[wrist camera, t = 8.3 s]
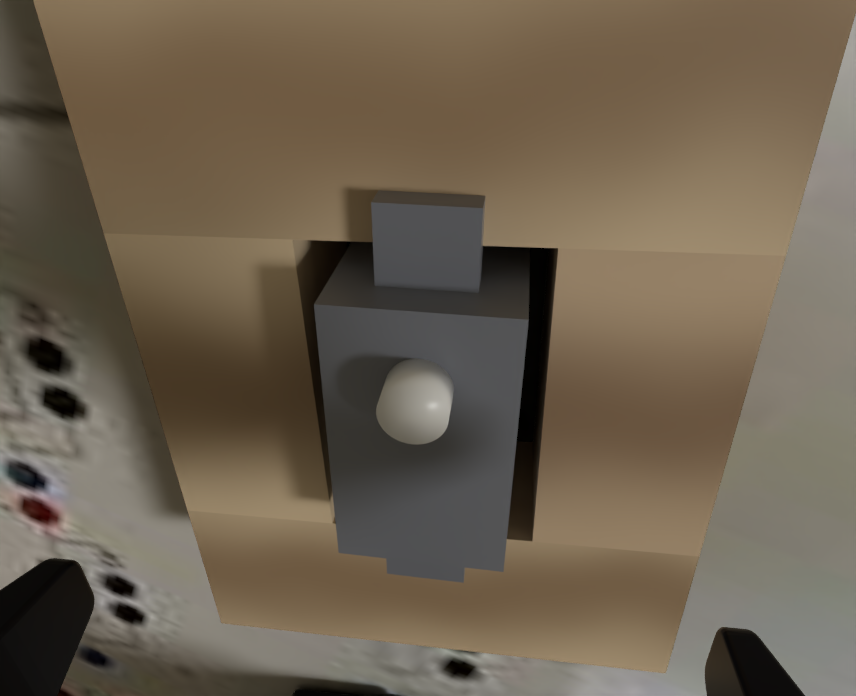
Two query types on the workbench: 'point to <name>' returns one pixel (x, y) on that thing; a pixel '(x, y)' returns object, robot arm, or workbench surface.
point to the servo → (424, 386)
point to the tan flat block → (503, 226)
